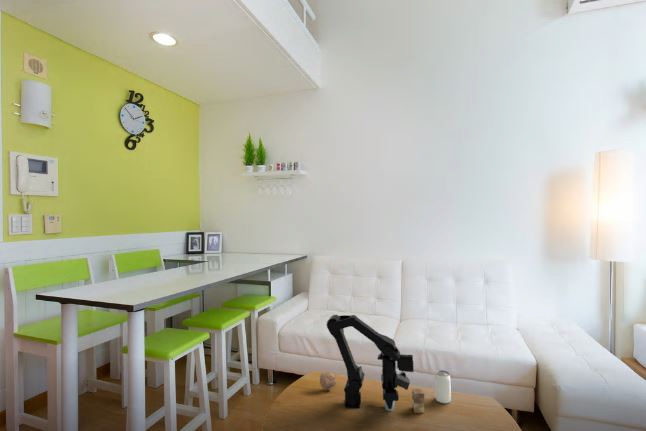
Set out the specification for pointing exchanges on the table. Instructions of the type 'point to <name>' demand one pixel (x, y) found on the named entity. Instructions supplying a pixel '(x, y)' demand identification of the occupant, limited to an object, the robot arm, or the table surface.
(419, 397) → the tower top
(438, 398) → the can
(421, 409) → the tower base
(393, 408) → the pale blue rounded blob
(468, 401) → the table surface
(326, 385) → the brown wrinkled rounded piece
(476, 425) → the table surface
